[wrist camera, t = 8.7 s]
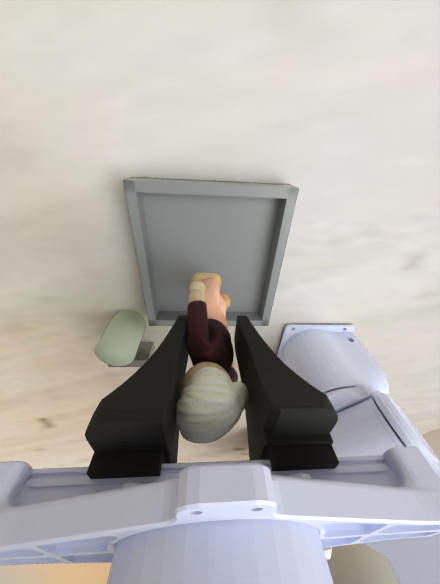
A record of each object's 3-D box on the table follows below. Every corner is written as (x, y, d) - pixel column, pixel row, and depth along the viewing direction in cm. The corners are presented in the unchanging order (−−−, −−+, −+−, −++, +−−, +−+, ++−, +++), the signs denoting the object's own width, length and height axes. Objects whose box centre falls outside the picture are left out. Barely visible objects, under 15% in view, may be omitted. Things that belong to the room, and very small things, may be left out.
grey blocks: (153, 342, 29) (148, 360, 26) (161, 389, 35) (158, 408, 32) (115, 342, 28) (106, 360, 26) (130, 390, 34) (124, 408, 32)
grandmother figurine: (171, 274, 19) (100, 398, 7) (208, 252, 18) (193, 353, 7) (216, 335, 22) (214, 495, 10) (249, 319, 21) (289, 471, 9)
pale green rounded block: (143, 309, 26) (131, 340, 22) (148, 333, 28) (137, 365, 24) (109, 309, 26) (90, 340, 21) (116, 333, 28) (100, 366, 24)
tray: (289, 184, 19) (299, 188, 17) (263, 312, 27) (267, 325, 25) (132, 177, 18) (123, 180, 16) (153, 312, 26) (149, 325, 24)
